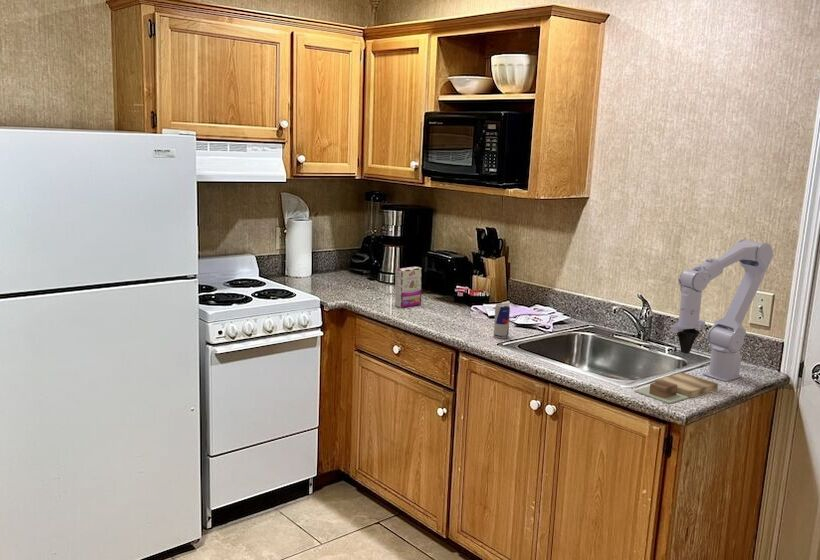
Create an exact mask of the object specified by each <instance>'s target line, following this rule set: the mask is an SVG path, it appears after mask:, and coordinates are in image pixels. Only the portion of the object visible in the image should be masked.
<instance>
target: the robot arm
mask: <svg viewBox="0 0 820 560" xmlns="http://www.w3.org/2000/svg"><path fill="white" fill-rule="evenodd" d="M773 258H774V251H773V247H772V245H771V244H769V242H759V241H754V240H748V239H745V238H742V239H740V240H738V241H737V242H734V243H733V246H732V248H730V249H729V250H727V251H726V252H724V253H722V255H720V256H718V258H715V257H711V258H710V257H707V258H705V260H704V262H702V263H700V264H699V265H695V266H694V267H693V268H692V269H690V268H686V269H685V270H684V271H682V272H681V273H680V275H679V277H678V278H677V280H678V281H677V282H678V285H679V287H680V288H679V291H680V293H681V296H680V302H679V304H680V306H679V314H678V322H676V323H674V324H672V325H671V326H670V333H674V334H676V335H677V339H678V341H679V347H680V351H681V352H680V353H682V354H686V355H689V354H690V352H691V350H692V347H693V346H694V342H695V341H696V339H697V338H698V336H699V335H700V330H699V329H703V328H705V327H706V321H704V320H700V313H701V305H702V304H701V303H702V296H703V295H702V294H703V291H704V290H705V289H706V288H707V286H708V284H709V283H710V282H711V281H713V280H714V279H716V278H718V277H719V276H721V275H722V274H723V272H724V269H726V268H727V267H729V266H732V265H733V264H735V263H737V262H738V263H739V264H740V266H741V267H742V268H743V270H744V274H743V277H742V279H741V281H740V283H739V285H738V287H737V289H736V291H735V293H734V295H733V297H732V299H731V302H730V304H729V307H728V308H727V310H726V312H725V315H724V316H723V317H721V318H719V319H717V320H715V321H714V324H712V326H711V327H710V328H709V329H708V331H707V334H706V335H707V336H706V340H707V342H708V343H709V347H710V348H711V351H710V352H711V353H710V359H709V360H710V361H709V369H708V371H705V372H703V373H702V375H703V376H706V377H709V378H713V379H715V380H720V381H723V382H728V381H732V380H735V379H739V378H741V377H743V375H741V374H740V371H741V363H742V354H741V352H740V350H741V349H742V348H743V345H744V341H745V337H746V334H747V331H746V329H745V327H744V326H743V322H744V319H745V317H746V316H747V313H748V311H749V309H750V307H751V304H752V302H753V300H755V299H754V298H755V296H756V294H757V292H758V290H759V288H760V286H761V283H762V281H763V279H764V277H765V274H766V272H767V270H768V268H769V266H770V264H771V262H772V260H773Z"/></svg>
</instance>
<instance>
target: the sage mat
mask: <svg viewBox="0 0 820 560" xmlns="http://www.w3.org/2000/svg"><path fill="white" fill-rule="evenodd" d="M649 391H650V385H649V386H644V387H642V388H638V389H635V390H633V392H634V393H637V394H640V395H642V396H646V397H647V398H650V399H654V400H657V401H659V402H662V403H664V404H667V405H670V404H674V403H678V402H681V401H684V400H688V399H690V398H689V397H687V396H684V395H681V394H678V393H676V395H674V396H671V397H668V398H665V399H664V398H661V397H658V396H655V395H652V394H649Z"/></svg>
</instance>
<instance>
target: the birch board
mask: <svg viewBox="0 0 820 560" xmlns="http://www.w3.org/2000/svg"><path fill="white" fill-rule="evenodd" d="M661 380H663V381H667V382H670V383H673V384H676V385H677V393H678V394H681V395H684V396H687V397H689V398H688V399H691V398H695V397H698V396H701V395H705V394H709V393H711V392H714V391H718V387H719V384H718V382H714V381H711V380H709V379H704V378H702V377H698V376H695V375H692V374H688V373H685V372H681V373H680V372H679V373H676V374H672V375H669V376H665V377H661V378H657V379H655V380H654V382H658V381H661Z"/></svg>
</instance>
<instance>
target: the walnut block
mask: <svg viewBox="0 0 820 560" xmlns="http://www.w3.org/2000/svg"><path fill="white" fill-rule="evenodd" d="M649 386H650V391H649V394H652V395H655V396H658V397H661V398H664V399H665V398H668V397H671V396H674V395H676V393H677V385H676V384H673V383H670V382H667V381H663V380H661V381H658V382H655V381H654V382H651V383H650V384H649Z"/></svg>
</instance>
